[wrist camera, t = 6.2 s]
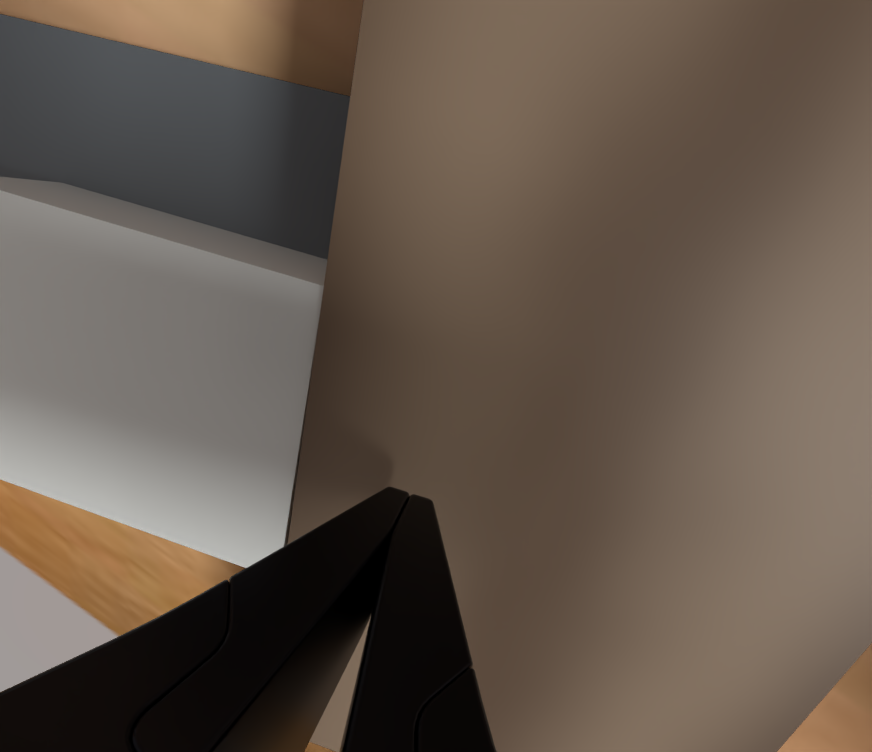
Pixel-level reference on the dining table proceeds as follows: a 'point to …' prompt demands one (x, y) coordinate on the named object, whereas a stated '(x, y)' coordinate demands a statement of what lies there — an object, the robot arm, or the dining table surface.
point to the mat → (171, 134)
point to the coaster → (154, 367)
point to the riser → (612, 353)
